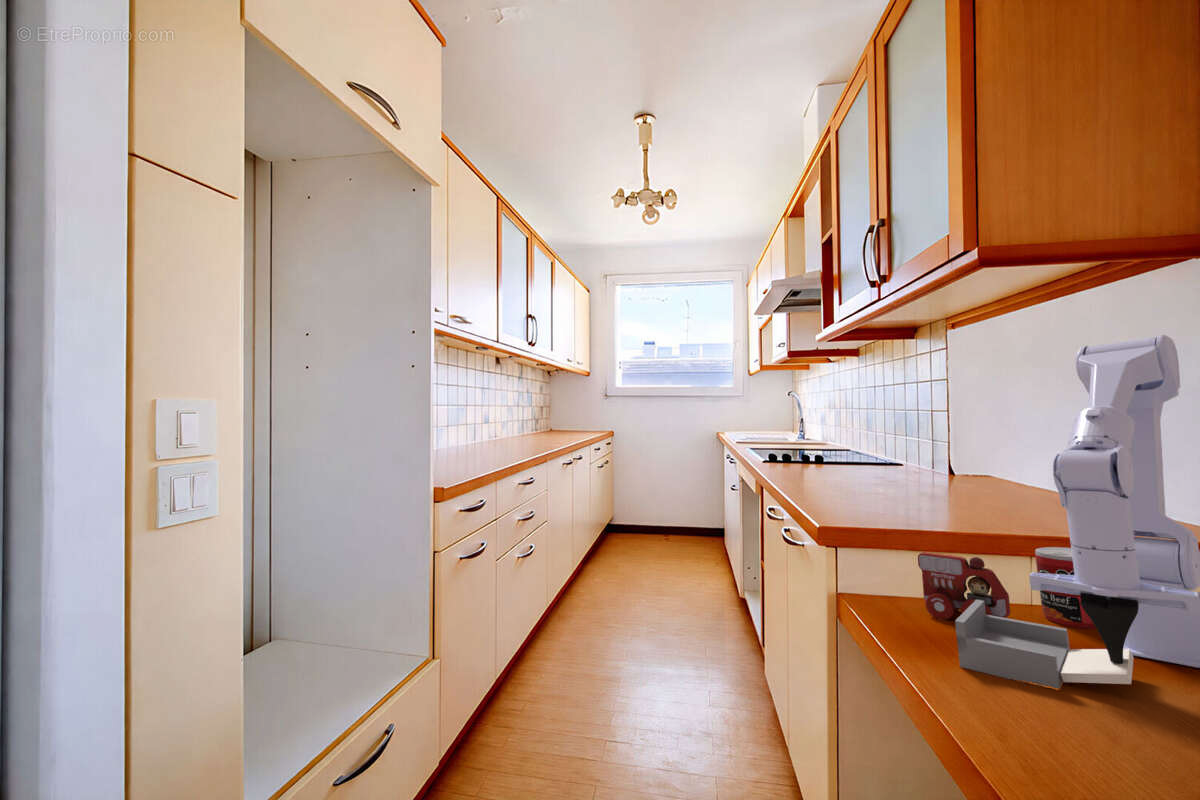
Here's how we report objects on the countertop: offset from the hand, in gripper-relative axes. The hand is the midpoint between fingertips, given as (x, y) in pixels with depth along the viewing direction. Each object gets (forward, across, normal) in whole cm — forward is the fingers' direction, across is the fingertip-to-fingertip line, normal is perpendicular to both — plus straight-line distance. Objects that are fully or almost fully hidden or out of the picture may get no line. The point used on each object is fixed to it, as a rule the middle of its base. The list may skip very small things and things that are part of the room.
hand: (1117, 660), depth 61 cm
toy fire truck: (+3, -19, +16) cm, 25 cm away
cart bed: (+3, -10, 0) cm, 10 cm away
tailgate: (+1, -5, 0) cm, 5 cm away
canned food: (+3, -6, +25) cm, 25 cm away
